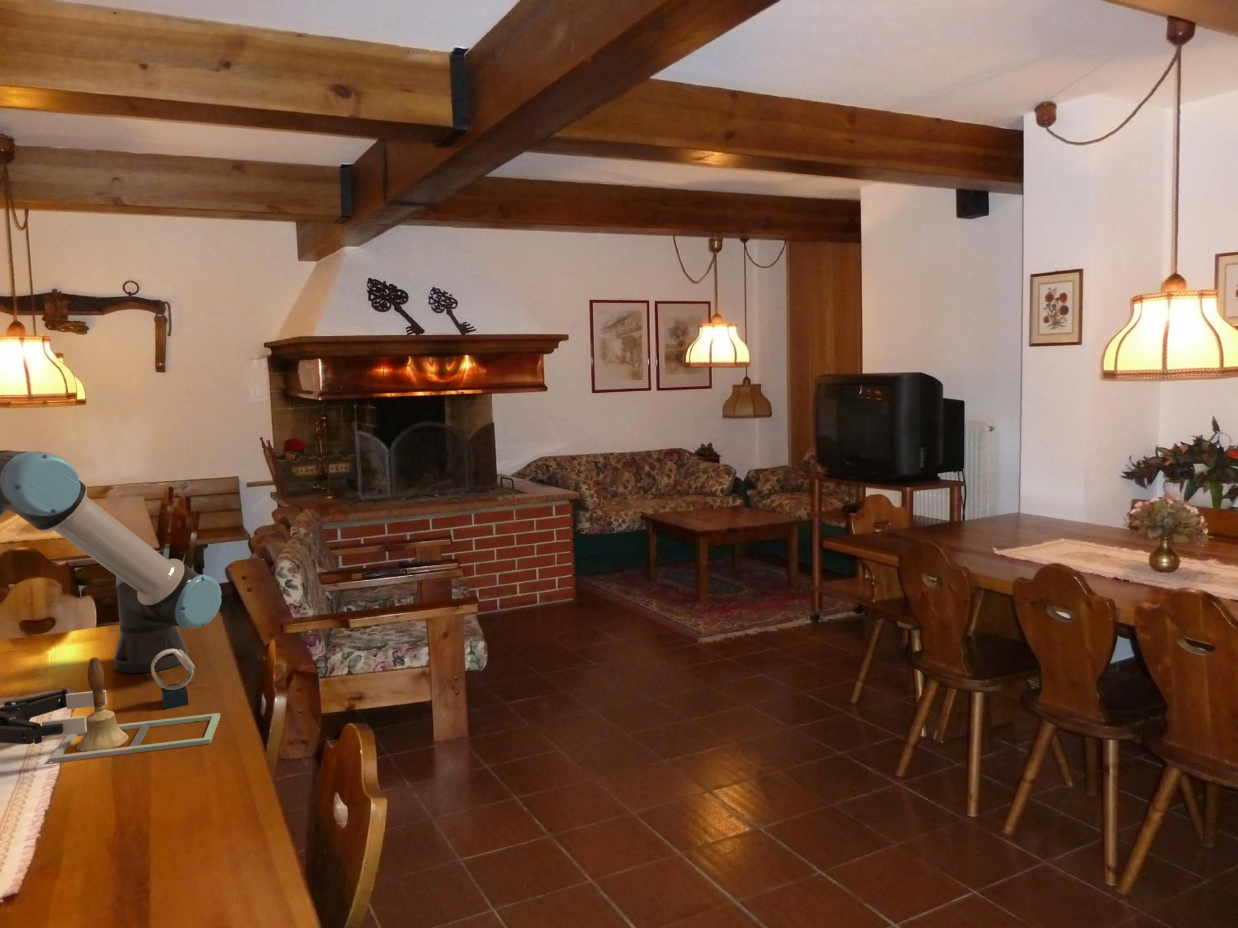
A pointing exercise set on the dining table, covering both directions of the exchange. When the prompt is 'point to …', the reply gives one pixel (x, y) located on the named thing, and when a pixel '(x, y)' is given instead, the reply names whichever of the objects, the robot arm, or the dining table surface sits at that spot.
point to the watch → (175, 692)
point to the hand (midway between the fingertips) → (96, 710)
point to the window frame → (140, 739)
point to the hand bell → (100, 717)
